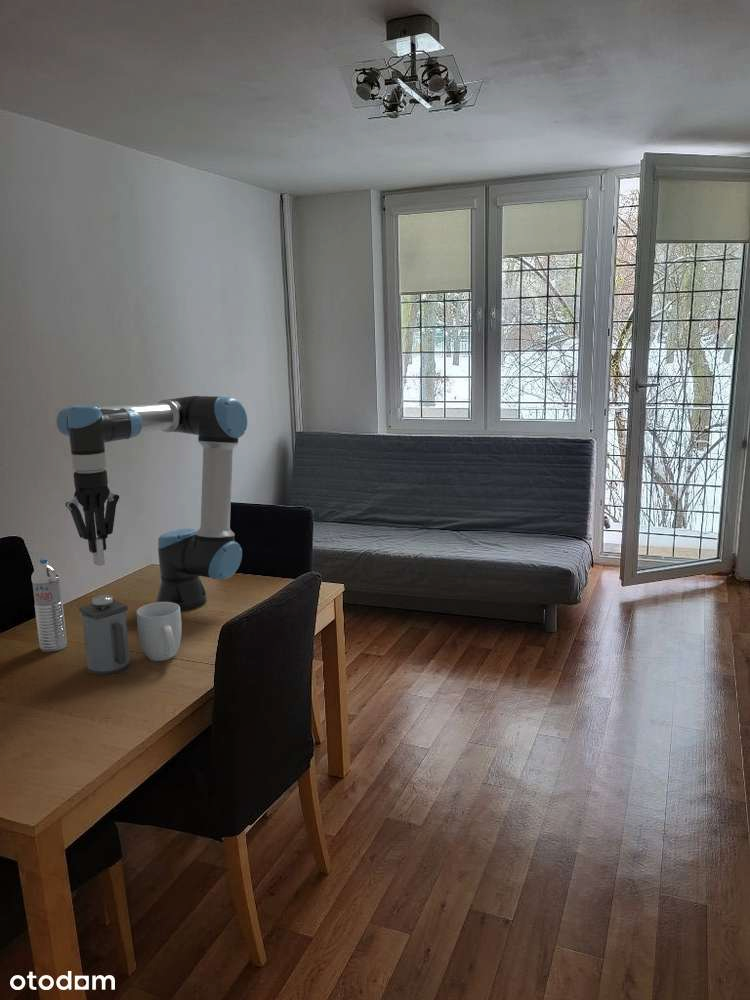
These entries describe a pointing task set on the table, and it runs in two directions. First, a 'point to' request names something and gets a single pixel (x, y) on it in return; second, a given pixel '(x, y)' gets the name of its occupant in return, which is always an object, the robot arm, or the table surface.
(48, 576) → the water bottle
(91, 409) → the robot arm
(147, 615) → the mug
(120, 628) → the carafe
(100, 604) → the plunger
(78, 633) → the table surface
